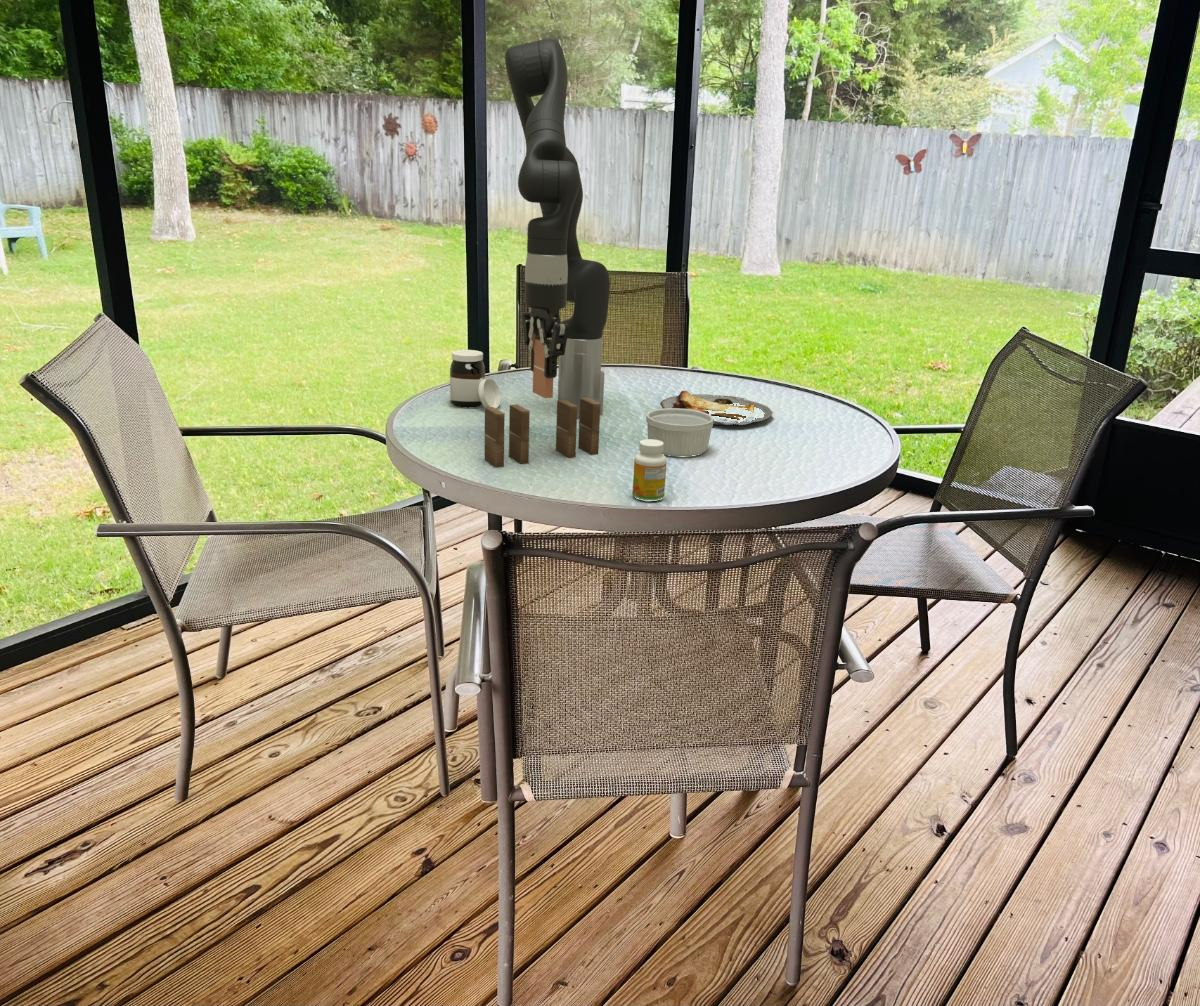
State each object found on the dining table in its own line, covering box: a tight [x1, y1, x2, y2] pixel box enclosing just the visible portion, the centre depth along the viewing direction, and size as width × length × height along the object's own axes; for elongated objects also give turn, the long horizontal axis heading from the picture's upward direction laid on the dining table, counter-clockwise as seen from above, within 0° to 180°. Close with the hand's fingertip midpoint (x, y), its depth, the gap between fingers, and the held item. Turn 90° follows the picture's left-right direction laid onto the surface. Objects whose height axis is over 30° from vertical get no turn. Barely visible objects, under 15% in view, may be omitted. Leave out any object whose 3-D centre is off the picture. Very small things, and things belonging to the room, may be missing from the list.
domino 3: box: [532, 339, 555, 399], centre depth 173 cm, size 2×5×10 cm, turn 30°
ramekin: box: [645, 408, 714, 457], centre depth 187 cm, size 13×13×7 cm
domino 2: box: [508, 403, 531, 465], centre depth 175 cm, size 2×5×10 cm, turn 31°
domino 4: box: [555, 399, 578, 459], centre depth 180 cm, size 2×5×10 cm, turn 31°
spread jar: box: [449, 349, 502, 409], centre depth 211 cm, size 12×11×12 cm
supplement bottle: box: [631, 438, 668, 500], centre depth 159 cm, size 5×5×10 cm
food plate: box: [659, 390, 774, 426], centre depth 214 cm, size 25×23×4 cm
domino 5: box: [577, 398, 601, 456], centre depth 182 cm, size 2×5×10 cm, turn 31°
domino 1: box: [484, 407, 506, 469], centre depth 172 cm, size 2×5×10 cm, turn 31°
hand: (543, 373), depth 174 cm, fingers closed on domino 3, 5 cm apart
